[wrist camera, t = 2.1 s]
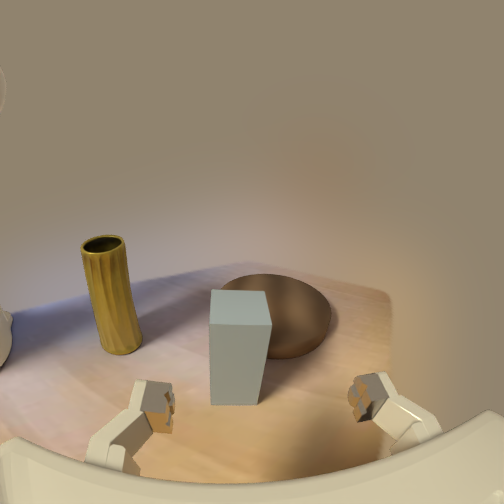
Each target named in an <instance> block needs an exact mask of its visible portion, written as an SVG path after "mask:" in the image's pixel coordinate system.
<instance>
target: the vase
mask: <svg viewBox="0 0 504 504" xmlns="http://www.w3.org/2000/svg"><path fill="white" fill-rule="evenodd" d="M81 254H82V260H83V265H84V270H85V276H86V280H87V285H88V290H89V294H90V299H91V304H92V308H93V312H94V316H95V320H96V325H97V329H98V332H99V336H100V342H101V345H102V347H103V348H104V350H106V351H107V352H109V353H111V354H115V355H124V354H128V353H131V352H133V351H134V350H136V349H137V348H138V347H139V346H140V344H141V342H142V333H141V330H140V327H139V324H138V319H137V315H136V311H135V307H134V303H133V299H132V293H131V288H130V281H129V273H128V266H127V257H126V248H125V243H124V240H123V239H122V237H120V236H116V235H101V236H97V237H93V238H91V239H88V240H87V241H85V242H84V243H83V244H82V245H81Z"/></svg>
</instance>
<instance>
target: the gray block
mask: <svg viewBox="0 0 504 504" xmlns="http://www.w3.org/2000/svg"><path fill="white" fill-rule="evenodd" d="M271 329H272V322H271V318H270V313H269V309H268V304H267V300H266V296H265V291H243V290H215V289H211V304H210V320H209V354H210V395H211V405H257V402H258V397H259V392H260V387H261V382H262V377H263V372H264V367H265V362H266V356H267V351H268V345H269V340H270V334H271Z"/></svg>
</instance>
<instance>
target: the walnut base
mask: <svg viewBox="0 0 504 504" xmlns="http://www.w3.org/2000/svg"><path fill="white" fill-rule="evenodd" d="M221 290H243V291H265V296H266V300H267V304H268V309H269V313H270V318H271V322H272V329H271V334H270V340H269V345H268V351H267V356H266V358H268V359H289V358H295V357H299V356H302V355H304V354H307V353H309V352H311V351H312V350H314V349H315V348H316V347H318V346H319V345H320V343H321V342H322V341H323V339H324V337H325V334H326V331H327V328H328V325H329V322H330V319H331V308H330V305H329V303H328V301H327V300H326V299H325V297H324V296H323V295H322V294H321V293H320V292H319V291H317V290H316V289H315V288H313V287H312V286H310V285H308V284H306V283H304V282H302V281H299V280H296V279H293V278H290V277H286V276H281V275H273V274H255V275H248V276H243V277H240V278H237V279H234V280H232V281H230V282H229V283H227V284H226V285H225V286H223V287H222V288H221Z"/></svg>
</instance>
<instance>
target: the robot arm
mask: <svg viewBox="0 0 504 504" xmlns="http://www.w3.org/2000/svg"><path fill="white" fill-rule="evenodd" d="M5 97H6V80H5V76H4V72H3V70H2V69H1V67H0V113H1V111H2V109H3V105H4V102H5ZM12 321H13V318H12V316H11V314H10V313H9V312H6V311H3V310H2V308H1V306H0V367H1V366H2V364H3V363H4V362H5V360H6V358H7V357H8V355H9V352H10V349H11V345H12V334H11V324H12ZM353 382H354V384H353V385H352V386H351V387H350V388H349V391H348V401H349V403H350V405H351V406H352V407H354V410H353V414H354V416H355V419H356V421H357V423H358V422H363V421H367V420H372V419H373V420H372V421H373V422H375V423H376V424H377V425H378V426H379V427H380V428H382V429H383V430H384V431H385V432H386V433H387V434H389V435H390V436H391V437H392V438H393V439H395V440H396V442H395V443H394V444H393V445H392V446H391V448H390V452H391V454H392V456H389V457H386V458H383V459H380V460H377V461H373V462H370V463H367V464H363V465H360V466H356V467H352V468H348V469H344V470H340V471H336V472H331V473H327V474H322V475H316V476H311V477H304V478H298V479H291V480H282V481H272V482H260V483H238V484H215V483H193V482H181V481H171V480H163V479H156V478H149V477H143V476H140V467H139V466H138V465H137V464H136V462H135V461H134V460H133V459H132V457H133V456H134V455H135V453H136V452H137V451H138V450H139V449H140V448H141V447H142V445H143V444H144V443H145V442H146V441H147V440H148V439H149V437H150V436H151V435H152V434H153V432H157V433H168V434H172V429H173V419H172V415H173V414H174V411H175V398H174V394H173V393H172V385H171V383H163V382H155V381H148V380H139V379H137V380H136V381H135V383H134V387H133V391H132V395H131V399H130V403H129V407H128V409H124V410H123V411H122V412H120V413H119V414H118V415H117V416H116V417H115V418H113V419H112V420H111V421H110V422H109V423H108V424H106V425H105V426H104V427H103V428H102V429H100V430H99V431H98V432H97V433H96V434H94V435H93V436H92V437H91V438H90V442H89V445H88V449H87V453H86V457H85V461H84V462H82V461H78V460H75V459H72V458H70V457H67V456H64V455H61V454H59V453H56V452H53V451H51V450H48V449H46V448H44V447H41V446H39V445H37V444H35V443H32V442H30V441H28V440H26V439H24V438H21V437H14V438H12V439H10V440H8V441H6V442H4V443H3V444H1V445H0V504H504V417H503V416H501V415H500V414H498V413H496V412H494V411H492V410H485V411H483V412H481V413H480V414H478V415H477V416H475V417H473V418H471V419H470V420H468V421H466V422H464V423H463V424H461V425H459V426H457V427H455V428H453V429H451V430H450V431H448V432H446V433H444V432H443V430H442V428H441V426H440V425H439V423H438V421H437V419H436V417H435V416H434V415H433V414H432V413H430V412H428V411H427V410H425V409H423V408H422V407H420V406H419V405H416V404H415V403H414V402H412V401H410V400H409V399H407V398H406V397H404V396H402V395H398V393H397V391H396V389H395V387H394V385H393V384H392V382H391V380H390V378H389V376H388V375H387V373H386V372H385V371H382V372H378V373H371V374H366V375H360V376H357V377H355V379H354V380H353Z"/></svg>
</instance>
